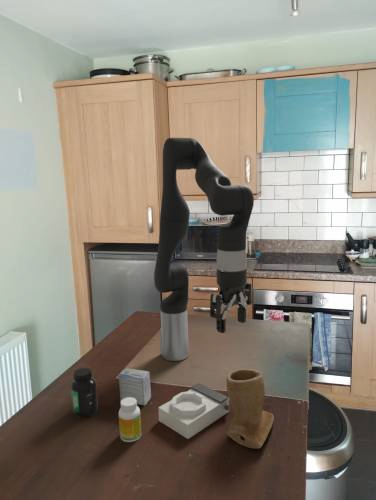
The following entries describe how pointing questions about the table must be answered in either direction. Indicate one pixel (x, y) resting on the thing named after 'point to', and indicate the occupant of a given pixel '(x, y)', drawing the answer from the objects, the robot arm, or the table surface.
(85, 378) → the supplement bottle
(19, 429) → the table surface
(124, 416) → the supplement bottle
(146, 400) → the medicine box
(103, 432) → the table surface
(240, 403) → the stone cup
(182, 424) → the white recessed base
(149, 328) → the table surface
